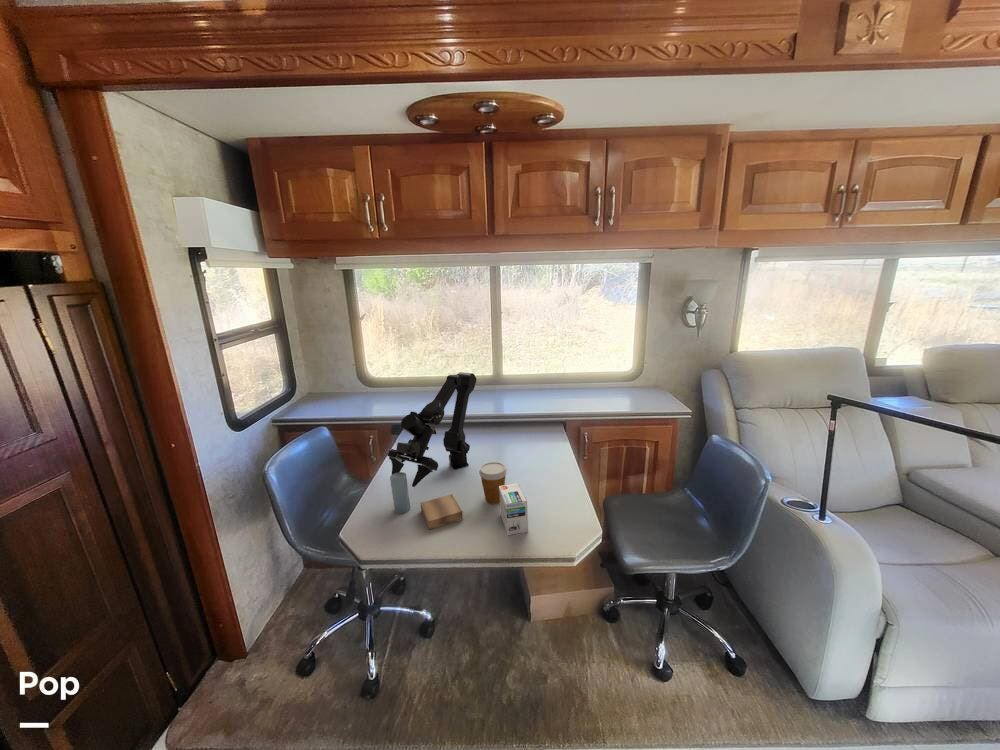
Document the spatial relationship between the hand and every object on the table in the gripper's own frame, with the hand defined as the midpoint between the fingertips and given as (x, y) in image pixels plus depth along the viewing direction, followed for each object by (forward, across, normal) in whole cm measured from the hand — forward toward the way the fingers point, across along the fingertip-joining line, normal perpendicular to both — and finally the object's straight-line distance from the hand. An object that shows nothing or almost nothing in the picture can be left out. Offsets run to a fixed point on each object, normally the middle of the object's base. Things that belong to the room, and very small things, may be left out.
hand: (402, 483), depth 125 cm
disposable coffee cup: (-6, +26, +18) cm, 32 cm away
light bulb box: (+1, +38, +12) cm, 40 cm away
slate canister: (+7, 0, +5) cm, 9 cm away
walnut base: (+5, +14, +8) cm, 17 cm away
